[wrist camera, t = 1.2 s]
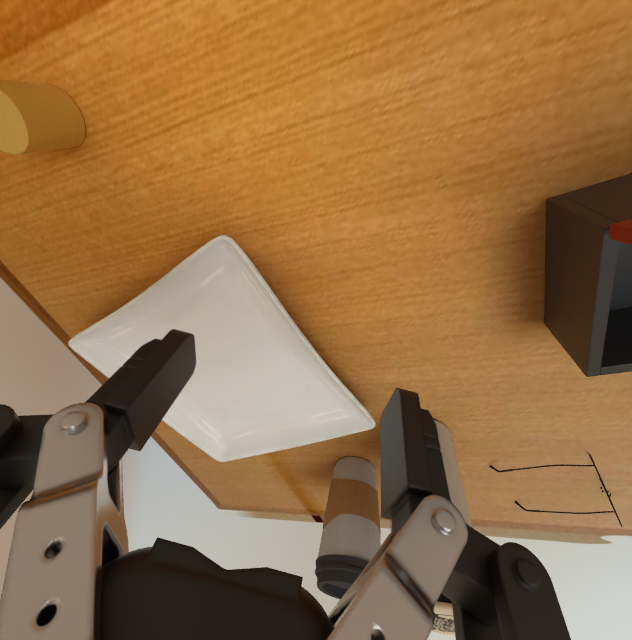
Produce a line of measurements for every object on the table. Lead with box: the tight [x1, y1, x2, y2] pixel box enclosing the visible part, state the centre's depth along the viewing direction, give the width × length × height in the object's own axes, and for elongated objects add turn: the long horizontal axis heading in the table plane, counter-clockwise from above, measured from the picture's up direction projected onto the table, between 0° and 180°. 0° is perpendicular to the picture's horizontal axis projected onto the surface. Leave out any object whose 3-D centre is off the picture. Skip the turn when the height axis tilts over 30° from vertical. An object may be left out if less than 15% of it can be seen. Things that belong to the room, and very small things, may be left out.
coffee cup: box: [315, 457, 381, 599], centre depth 40 cm, size 8×8×15 cm
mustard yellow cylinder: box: [0, 80, 86, 155], centre depth 22 cm, size 4×4×5 cm
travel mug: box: [390, 420, 472, 635], centre depth 32 cm, size 8×8×18 cm
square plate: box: [68, 235, 376, 462], centre depth 36 cm, size 27×27×4 cm
